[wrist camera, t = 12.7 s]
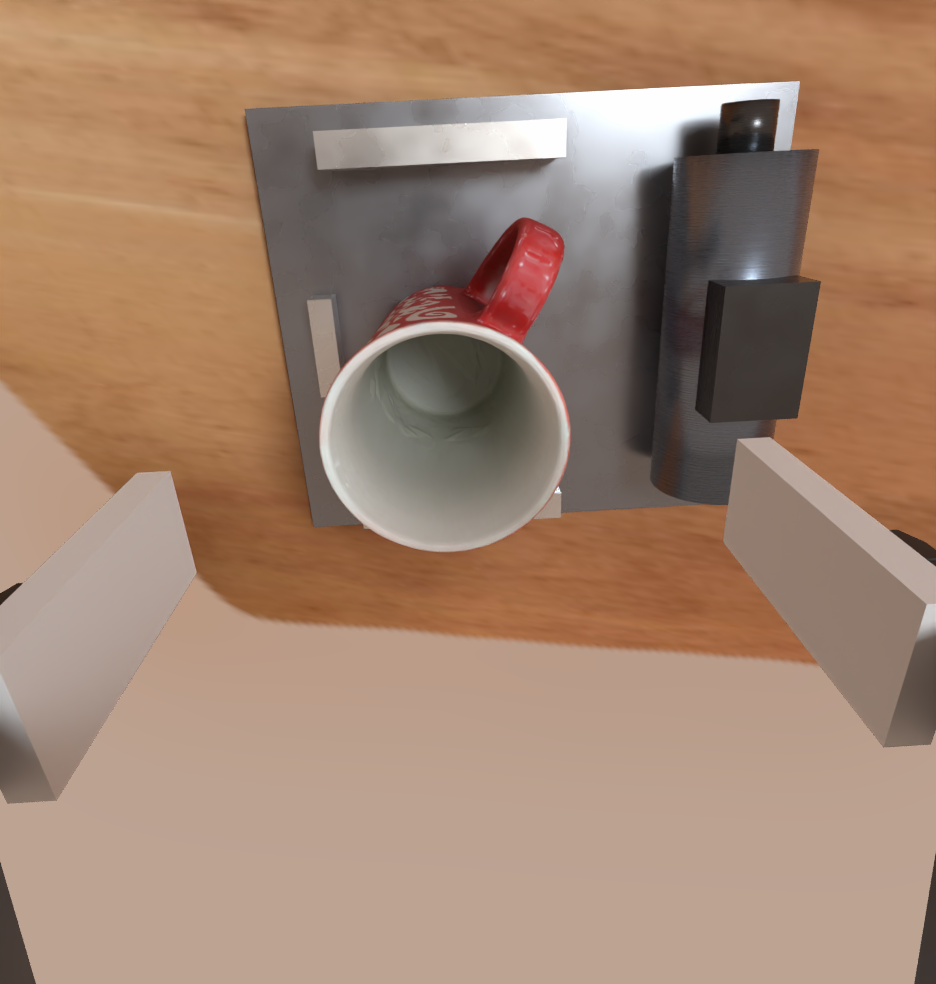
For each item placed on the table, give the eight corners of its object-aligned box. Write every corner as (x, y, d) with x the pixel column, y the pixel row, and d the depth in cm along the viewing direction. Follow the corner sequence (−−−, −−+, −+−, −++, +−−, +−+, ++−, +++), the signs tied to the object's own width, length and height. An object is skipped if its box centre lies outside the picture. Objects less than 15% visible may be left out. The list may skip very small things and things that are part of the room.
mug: (473, 461, 39) (487, 591, 26) (332, 386, 36) (276, 488, 24) (599, 266, 34) (685, 312, 22) (447, 166, 32) (449, 156, 20)
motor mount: (316, 519, 41) (287, 597, 33) (250, 110, 32) (189, 88, 24) (734, 495, 41) (800, 566, 34) (789, 83, 32) (900, 52, 24)
